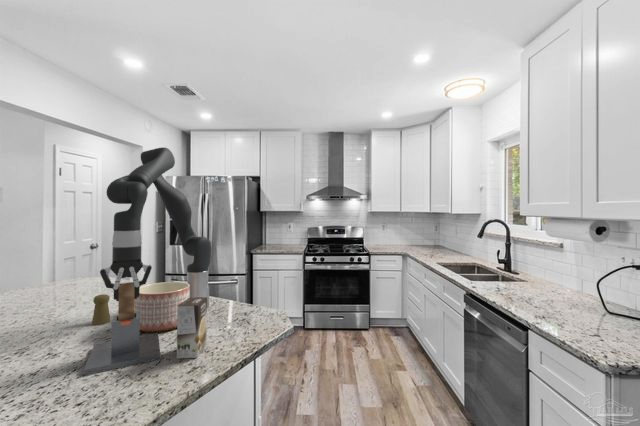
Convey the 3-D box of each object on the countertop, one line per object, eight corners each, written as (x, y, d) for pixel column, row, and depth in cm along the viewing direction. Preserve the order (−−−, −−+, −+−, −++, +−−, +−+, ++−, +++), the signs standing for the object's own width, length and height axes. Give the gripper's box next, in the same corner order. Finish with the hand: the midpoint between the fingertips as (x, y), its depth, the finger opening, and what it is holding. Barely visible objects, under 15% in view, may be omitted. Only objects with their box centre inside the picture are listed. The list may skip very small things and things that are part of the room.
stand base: (158, 336, 102) (158, 304, 102) (160, 358, 86) (160, 320, 87) (94, 348, 92) (94, 313, 92) (84, 375, 77) (84, 333, 77)
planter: (199, 319, 119) (200, 283, 119) (160, 338, 101) (160, 296, 101) (164, 313, 125) (164, 280, 125) (121, 330, 107) (122, 291, 107)
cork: (100, 325, 111) (100, 297, 111) (87, 324, 112) (88, 296, 113) (114, 320, 117) (114, 293, 117) (102, 319, 118) (102, 292, 118)
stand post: (134, 331, 92) (135, 281, 93) (134, 336, 89) (134, 284, 89) (118, 334, 90) (119, 283, 90) (117, 339, 86) (118, 286, 87)
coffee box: (197, 358, 87) (198, 305, 87) (176, 359, 86) (176, 305, 86) (207, 344, 96) (207, 296, 96) (187, 345, 95) (188, 297, 96)
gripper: (153, 242, 97) (152, 293, 96) (100, 244, 89) (99, 300, 89) (153, 245, 90) (153, 299, 90) (97, 247, 83) (96, 306, 83)
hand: (126, 299), depth 90 cm, fingers closed on stand post, 4 cm apart
